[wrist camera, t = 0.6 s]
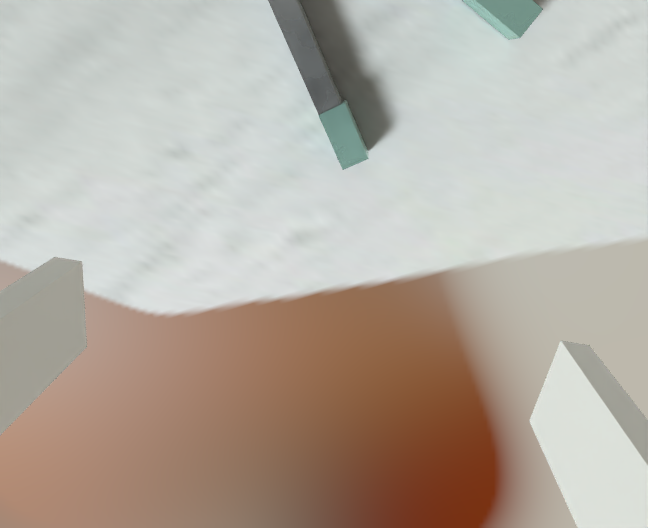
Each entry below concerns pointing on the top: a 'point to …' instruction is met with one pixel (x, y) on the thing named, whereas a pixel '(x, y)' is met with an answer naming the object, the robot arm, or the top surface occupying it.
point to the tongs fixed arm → (320, 83)
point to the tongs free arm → (507, 14)
